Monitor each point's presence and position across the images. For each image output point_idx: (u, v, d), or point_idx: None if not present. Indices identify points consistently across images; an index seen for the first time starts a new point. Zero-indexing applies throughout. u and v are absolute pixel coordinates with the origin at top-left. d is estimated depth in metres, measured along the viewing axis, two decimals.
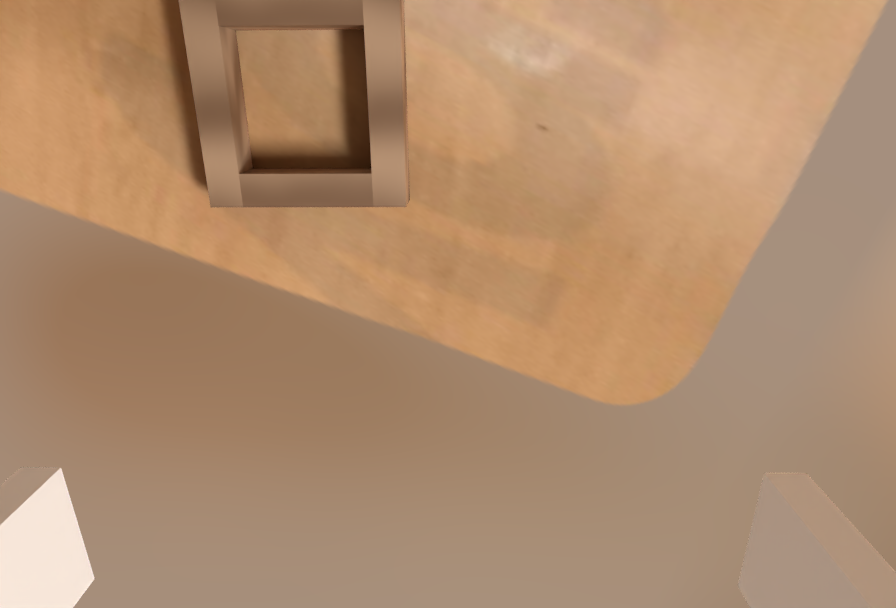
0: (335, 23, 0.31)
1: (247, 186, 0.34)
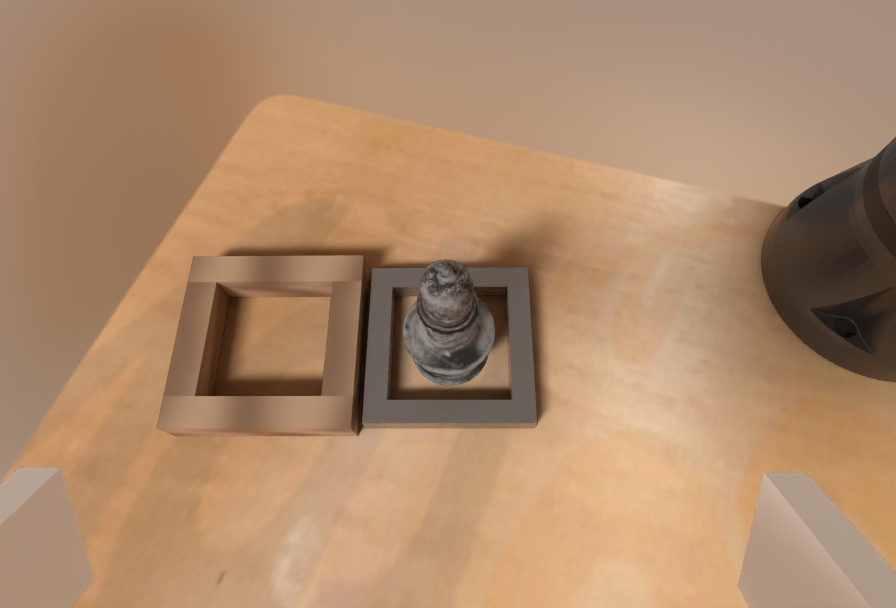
0: (324, 372, 0.36)
1: (204, 287, 0.38)
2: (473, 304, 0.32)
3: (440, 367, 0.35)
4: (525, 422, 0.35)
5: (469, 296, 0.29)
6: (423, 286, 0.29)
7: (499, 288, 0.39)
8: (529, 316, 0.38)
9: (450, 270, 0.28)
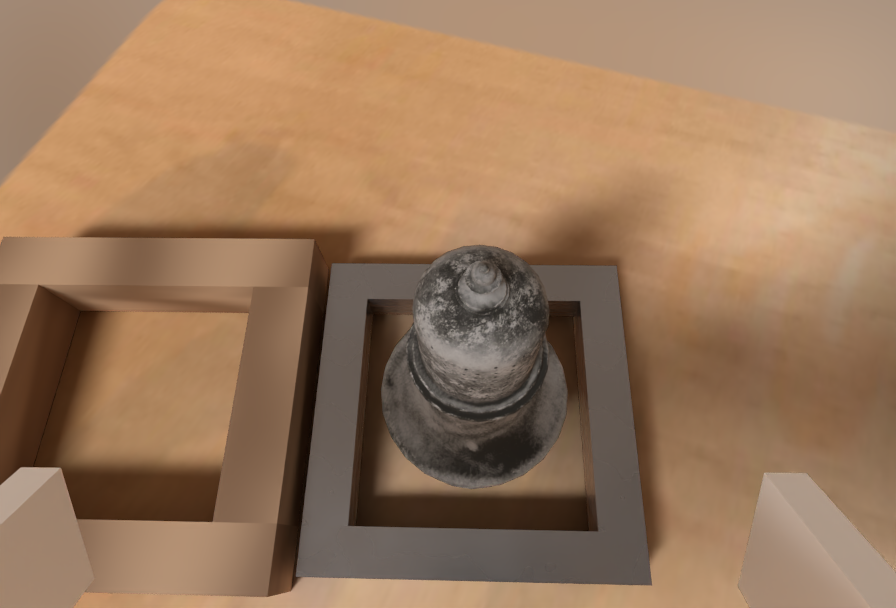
0: (223, 470, 0.18)
1: (14, 295, 0.21)
2: (537, 350, 0.14)
3: (456, 472, 0.17)
4: (627, 582, 0.17)
5: (541, 340, 0.11)
6: (421, 314, 0.11)
7: (564, 304, 0.21)
8: (624, 359, 0.20)
9: (496, 273, 0.10)
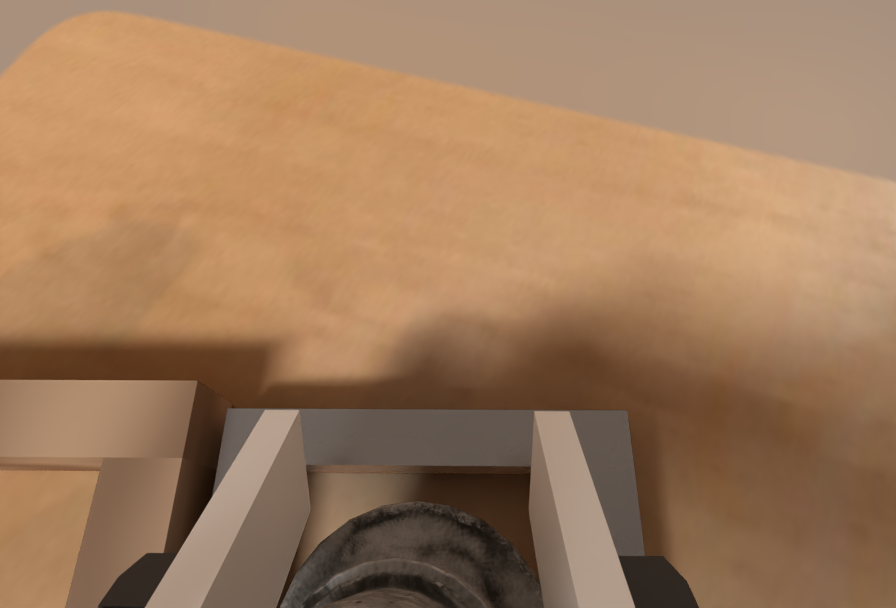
0: None
1: None
2: None
3: None
4: None
5: None
6: None
7: None
8: None
9: None
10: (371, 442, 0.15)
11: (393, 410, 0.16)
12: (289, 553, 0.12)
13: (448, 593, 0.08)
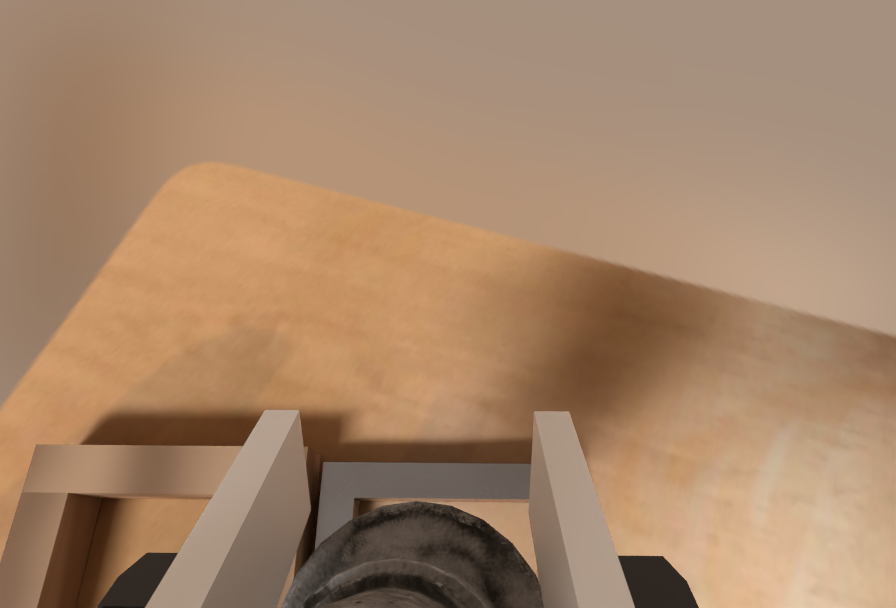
0: None
1: (47, 503, 0.24)
2: None
3: None
4: None
5: None
6: None
7: None
8: None
9: None
10: (413, 484, 0.25)
11: (426, 463, 0.25)
12: (289, 553, 0.12)
13: (448, 593, 0.08)
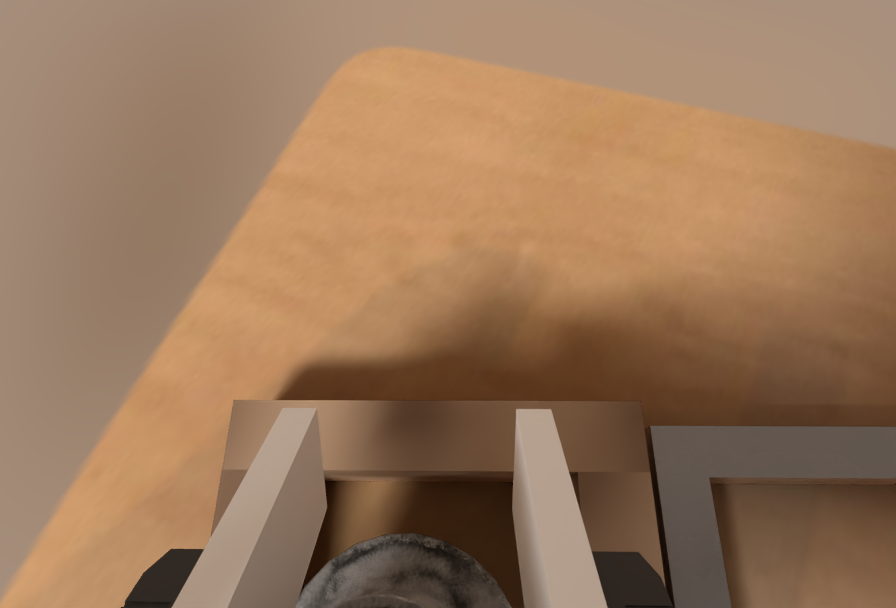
0: None
1: None
2: None
3: None
4: None
5: None
6: None
7: None
8: None
9: None
10: (793, 457, 0.17)
11: (801, 427, 0.17)
12: (308, 550, 0.12)
13: None
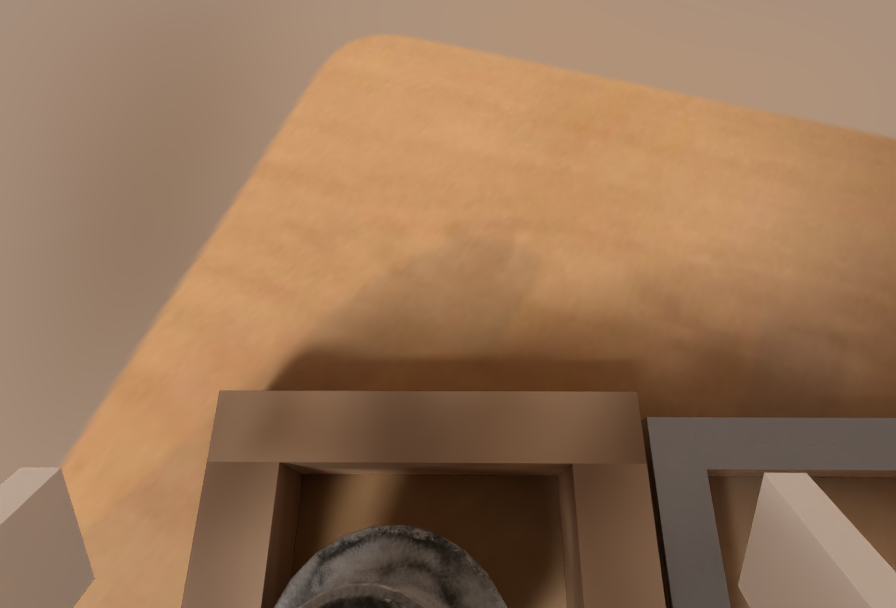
0: None
1: (250, 478, 0.15)
2: None
3: None
4: None
5: None
6: None
7: None
8: None
9: None
10: (792, 448, 0.16)
11: (800, 418, 0.17)
12: None
13: (396, 606, 0.10)
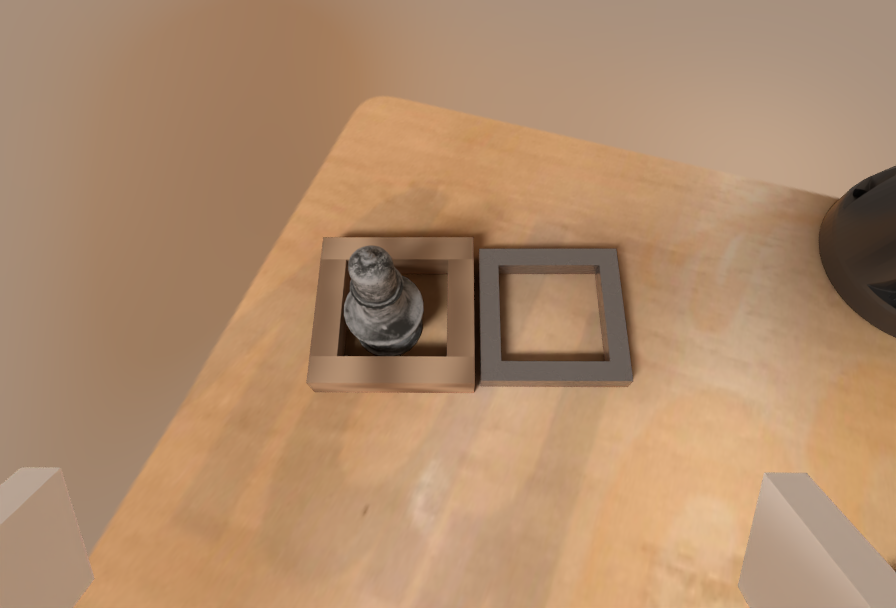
0: (447, 336, 0.41)
1: (336, 264, 0.44)
2: (398, 280, 0.38)
3: (380, 340, 0.40)
4: (622, 380, 0.41)
5: (391, 273, 0.35)
6: (351, 270, 0.35)
7: (591, 267, 0.45)
8: (620, 290, 0.44)
9: (371, 253, 0.34)
10: (530, 258, 0.45)
11: (536, 249, 0.46)
12: None
13: None
